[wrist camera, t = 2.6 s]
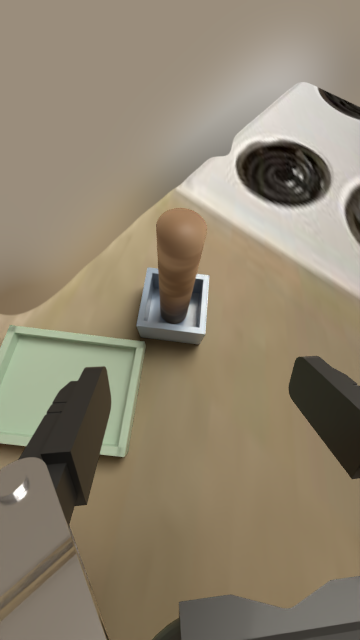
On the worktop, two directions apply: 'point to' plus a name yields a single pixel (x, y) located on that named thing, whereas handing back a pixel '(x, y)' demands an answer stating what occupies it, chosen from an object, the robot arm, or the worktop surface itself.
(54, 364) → the tray
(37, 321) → the worktop surface
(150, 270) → the pale blue open box
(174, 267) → the dowel
